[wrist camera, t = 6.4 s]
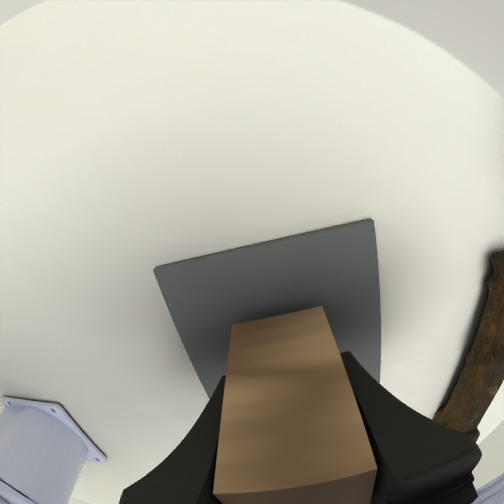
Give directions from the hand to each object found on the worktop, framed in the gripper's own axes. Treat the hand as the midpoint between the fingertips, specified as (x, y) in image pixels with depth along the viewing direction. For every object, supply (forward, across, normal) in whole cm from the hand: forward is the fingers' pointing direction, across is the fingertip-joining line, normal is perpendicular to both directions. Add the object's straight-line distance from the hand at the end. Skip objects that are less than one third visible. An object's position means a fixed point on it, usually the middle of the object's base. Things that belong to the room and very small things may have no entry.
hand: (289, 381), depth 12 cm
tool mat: (+3, 0, 0) cm, 3 cm away
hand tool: (+4, -13, +8) cm, 16 cm away
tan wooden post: (+2, 0, 0) cm, 2 cm away
